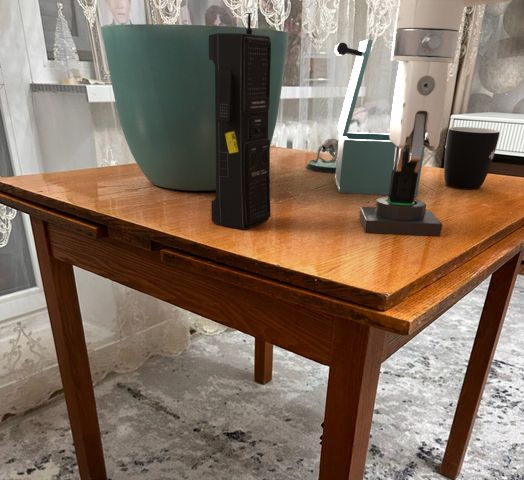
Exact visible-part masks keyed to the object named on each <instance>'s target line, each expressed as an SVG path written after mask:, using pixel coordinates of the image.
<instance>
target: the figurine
mask: <svg viewBox="0 0 524 480" xmlns="http://www.w3.org/2000/svg"><path fill="white" fill-rule="evenodd" d="M338 141H339V139H336V138H327V139H325V140H324V142H323V143H322V144H321V145H320V146H319V147H318V149H317V154H316V158H315V159H310V160H309V161H308V163H307V164H306V166H305V169H306V170H308V171H312V172H316V173H317V172H318V173H324V174H325V173H326V174H335V173H336V163H337V152H338ZM321 153H328V154H329V155H330V156H331V157H332V158H331V159H324V158H322V157H321V156H320V154H321Z"/></svg>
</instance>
